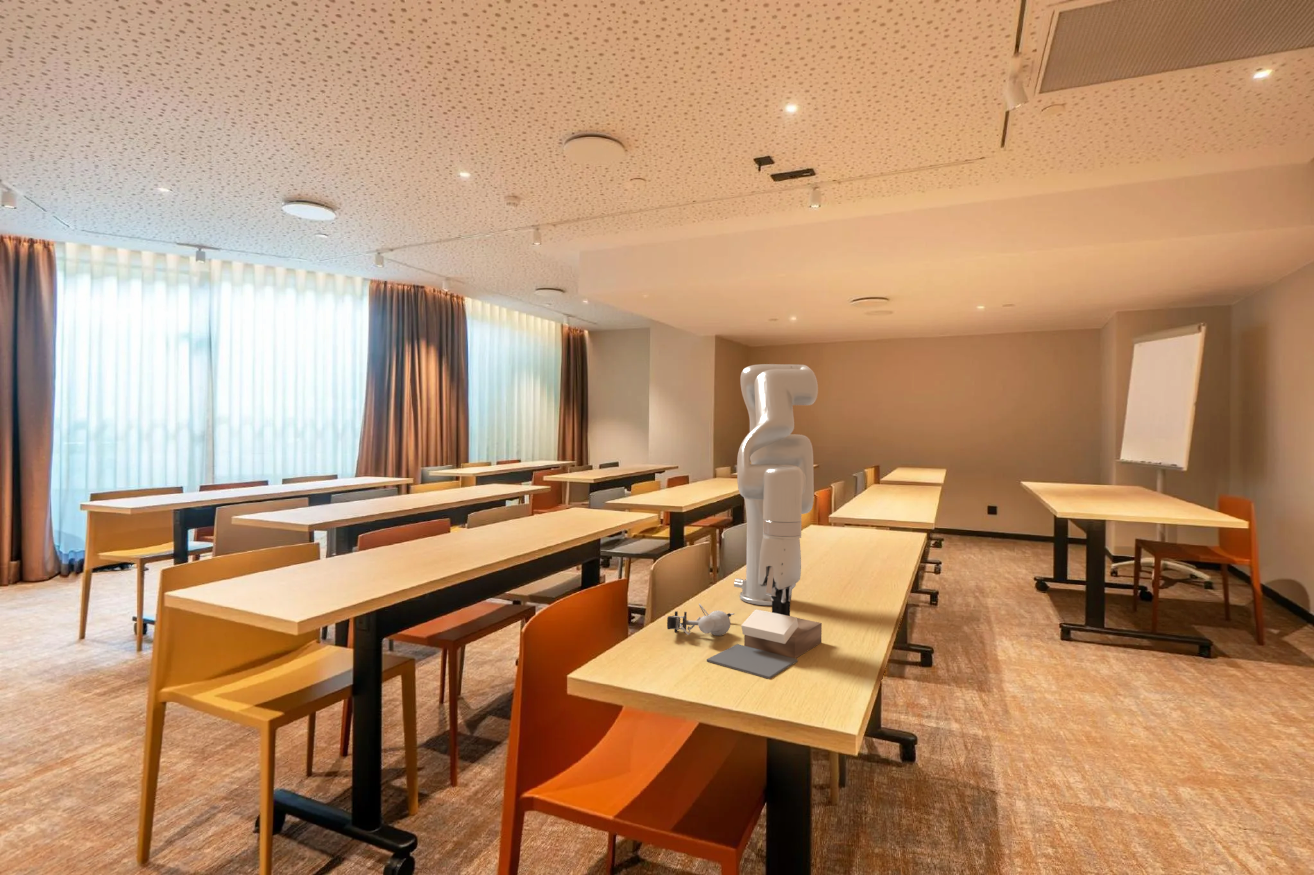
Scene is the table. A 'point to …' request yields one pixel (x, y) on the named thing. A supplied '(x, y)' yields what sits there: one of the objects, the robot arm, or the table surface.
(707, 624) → the clip-on lamp
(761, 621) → the tile
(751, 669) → the mat
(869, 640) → the table surface
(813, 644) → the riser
